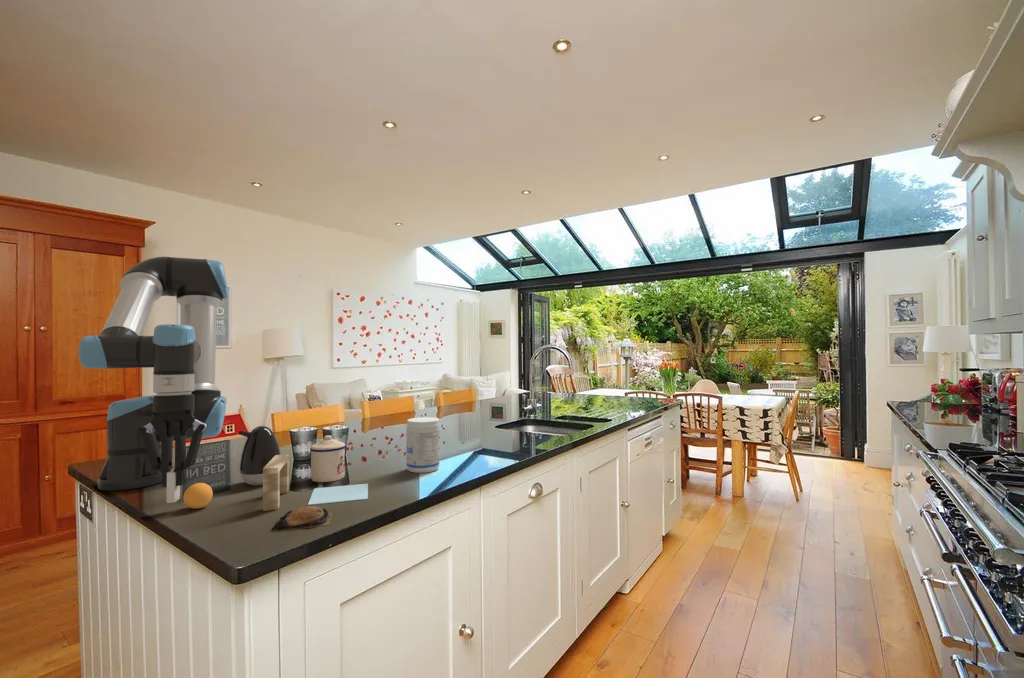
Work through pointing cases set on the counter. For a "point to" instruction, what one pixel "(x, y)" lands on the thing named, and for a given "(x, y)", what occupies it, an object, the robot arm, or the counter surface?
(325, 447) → the teacup with lid
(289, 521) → the mussel
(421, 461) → the supplement tub
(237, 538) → the counter surface
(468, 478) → the counter surface
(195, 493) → the ball
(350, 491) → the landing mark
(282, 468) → the bridge
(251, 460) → the pump dispenser
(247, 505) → the counter surface
